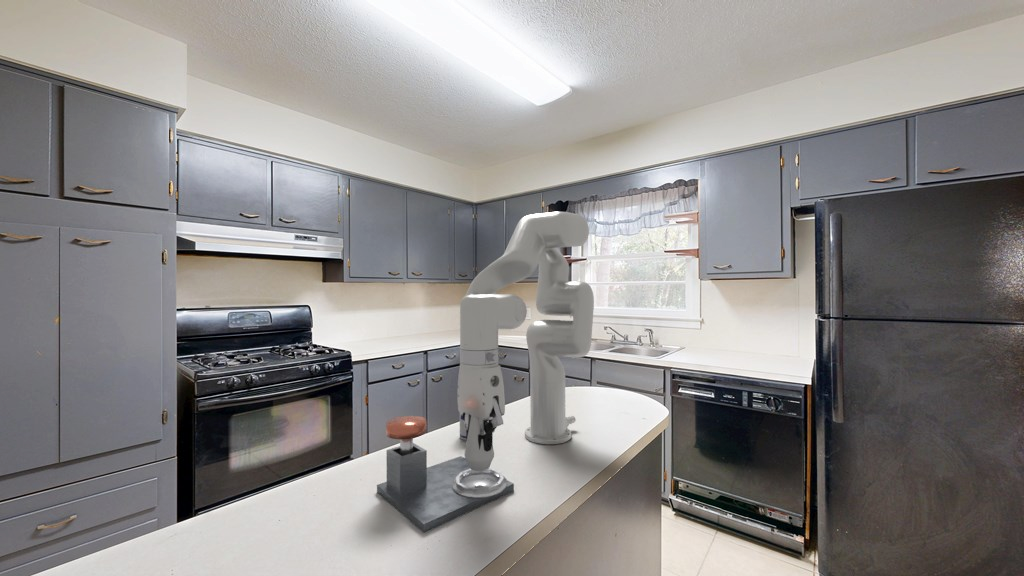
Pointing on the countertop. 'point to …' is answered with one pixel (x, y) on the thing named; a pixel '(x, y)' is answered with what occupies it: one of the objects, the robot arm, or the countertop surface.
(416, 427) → the disc
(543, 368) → the robot arm
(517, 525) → the countertop surface
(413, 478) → the base
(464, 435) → the energy drink
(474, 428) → the salt shaker
